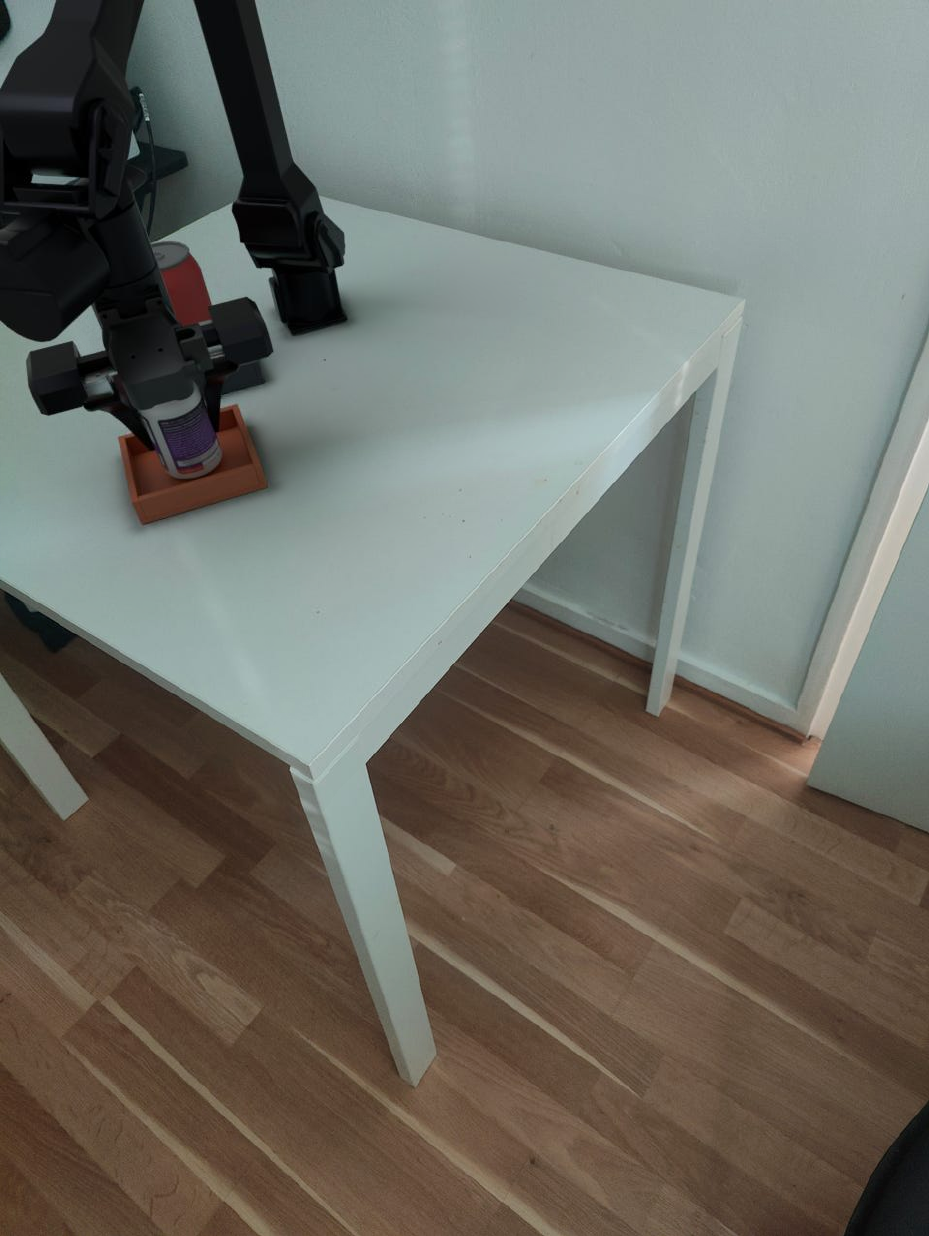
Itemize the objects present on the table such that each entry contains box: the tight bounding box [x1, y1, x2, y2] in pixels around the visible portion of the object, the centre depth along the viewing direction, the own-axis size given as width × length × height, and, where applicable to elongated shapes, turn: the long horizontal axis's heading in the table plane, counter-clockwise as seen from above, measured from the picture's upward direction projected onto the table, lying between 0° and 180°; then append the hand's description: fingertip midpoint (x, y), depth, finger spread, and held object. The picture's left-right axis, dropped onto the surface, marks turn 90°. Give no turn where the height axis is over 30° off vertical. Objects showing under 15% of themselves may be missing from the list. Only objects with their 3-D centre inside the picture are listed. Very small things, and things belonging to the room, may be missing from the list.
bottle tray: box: [117, 403, 269, 525], centre depth 78 cm, size 11×10×2 cm
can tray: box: [193, 359, 266, 400], centre depth 89 cm, size 12×10×2 cm
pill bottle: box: [137, 380, 222, 479], centre depth 74 cm, size 5×5×10 cm
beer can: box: [151, 240, 213, 359], centre depth 85 cm, size 7×7×12 cm
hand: (184, 439), depth 76 cm, fingers closed on pill bottle, 5 cm apart
